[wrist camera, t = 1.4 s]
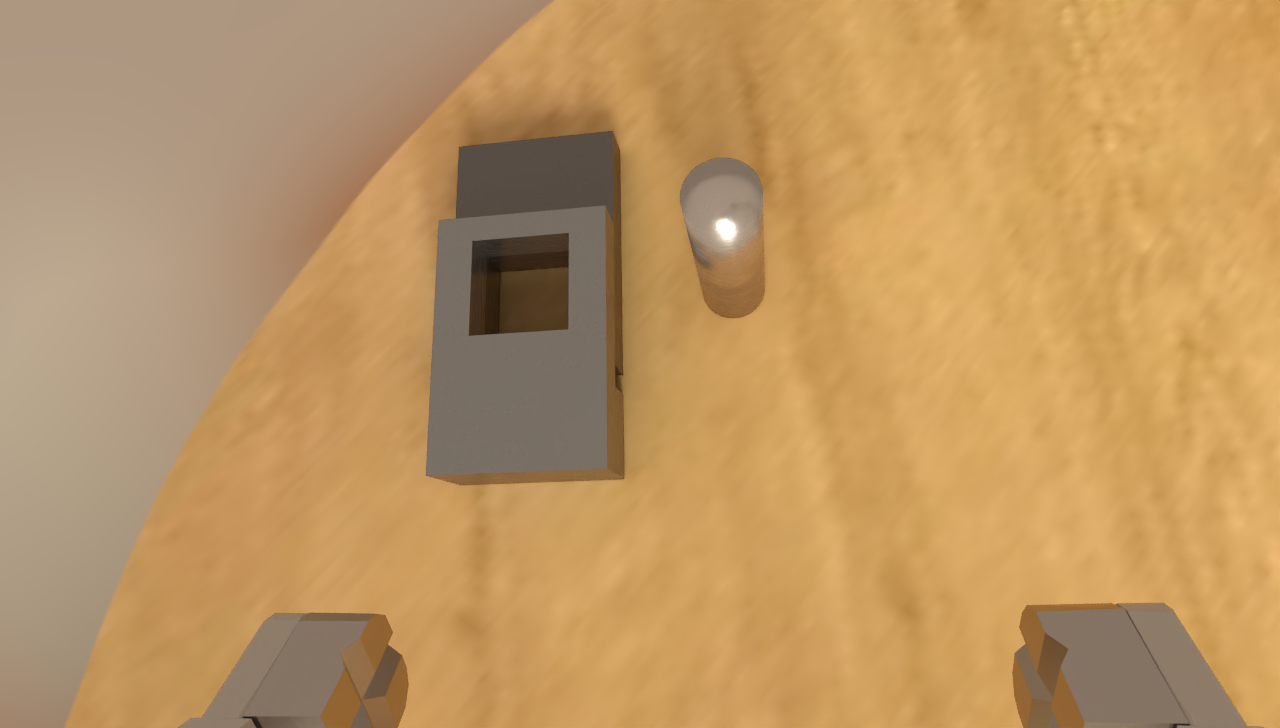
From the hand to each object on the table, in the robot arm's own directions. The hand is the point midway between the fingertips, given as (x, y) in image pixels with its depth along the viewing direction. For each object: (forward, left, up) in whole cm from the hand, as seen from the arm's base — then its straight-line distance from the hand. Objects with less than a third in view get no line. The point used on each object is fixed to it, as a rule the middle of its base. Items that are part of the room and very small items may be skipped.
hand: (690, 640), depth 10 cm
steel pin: (0, -14, -26) cm, 29 cm away
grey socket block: (+9, -14, -26) cm, 31 cm away
